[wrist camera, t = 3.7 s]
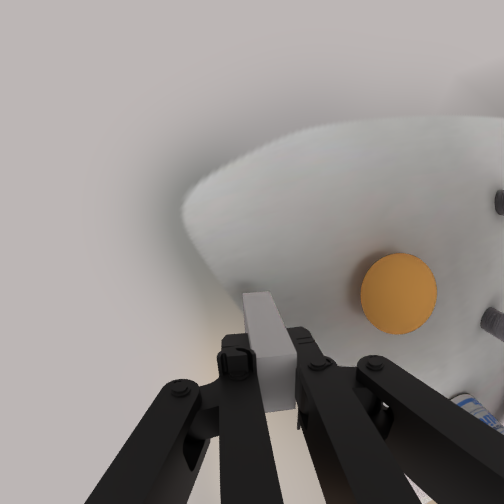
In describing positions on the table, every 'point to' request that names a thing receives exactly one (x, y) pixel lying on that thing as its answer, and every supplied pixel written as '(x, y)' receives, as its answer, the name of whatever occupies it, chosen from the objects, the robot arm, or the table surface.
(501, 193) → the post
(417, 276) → the ball
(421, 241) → the table surface
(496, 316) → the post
